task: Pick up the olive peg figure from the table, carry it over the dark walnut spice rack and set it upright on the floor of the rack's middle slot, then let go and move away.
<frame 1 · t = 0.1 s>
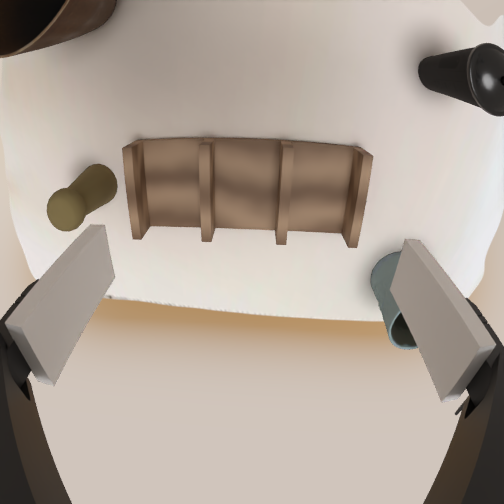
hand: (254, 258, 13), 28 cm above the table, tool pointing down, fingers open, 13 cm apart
olive peg figure: (99, 183, 40), on the table
spice rack: (246, 183, 40), on the table
grey-green tumbler: (394, 272, 47), on the table
plant pot: (93, 7, 27), on the table
drinking cup: (432, 74, 31), on the table
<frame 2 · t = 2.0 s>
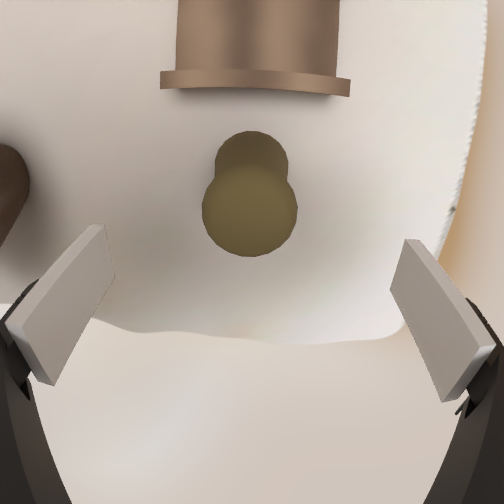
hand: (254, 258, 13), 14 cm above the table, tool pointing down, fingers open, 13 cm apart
olive peg figure: (251, 166, 25), on the table
plant pot: (7, 176, 25), on the table
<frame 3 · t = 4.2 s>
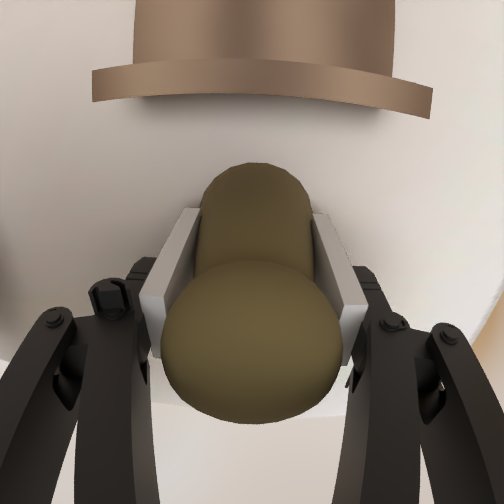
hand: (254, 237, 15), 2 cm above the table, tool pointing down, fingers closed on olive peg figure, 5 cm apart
olive peg figure: (255, 215, 17), on the table, touching gripper
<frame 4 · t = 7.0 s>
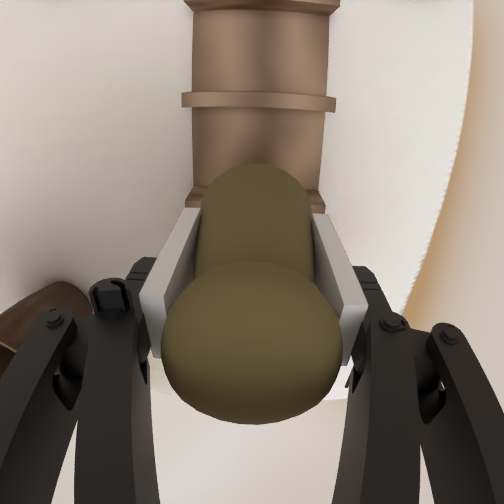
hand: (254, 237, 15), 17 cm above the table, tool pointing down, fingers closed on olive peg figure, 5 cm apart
olive peg figure: (255, 216, 17), point 14 cm above the table, touching gripper
spice rack: (257, 144, 29), on the table
plant pot: (70, 300, 40), on the table
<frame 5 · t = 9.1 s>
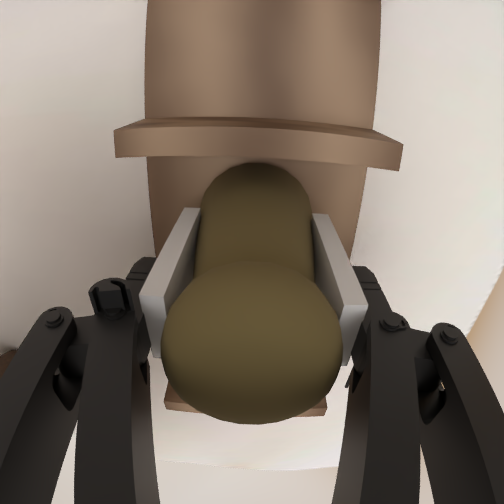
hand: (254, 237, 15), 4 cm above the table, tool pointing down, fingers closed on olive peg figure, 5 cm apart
olive peg figure: (255, 216, 17), point 2 cm above the table, touching gripper
spice rack: (254, 204, 18), on the table
when the fingers open (3 cm above the table, at t = 10.2 s): olive peg figure stays where it is, resting on spice rack.
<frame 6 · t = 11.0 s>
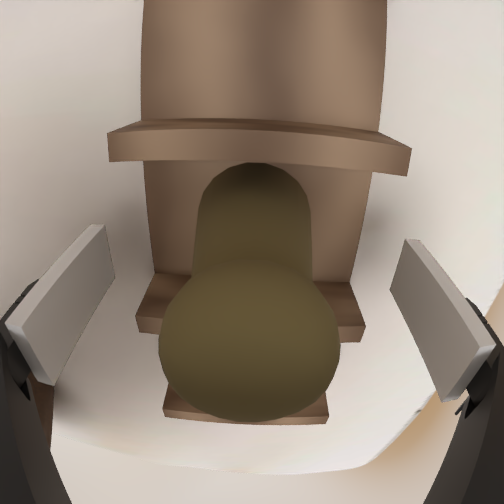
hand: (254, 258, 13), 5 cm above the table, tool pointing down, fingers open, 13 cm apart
olive peg figure: (254, 215, 17), point 1 cm above the table, touching spice rack
spice rack: (255, 209, 18), on the table
plant pot: (29, 372, 28), on the table
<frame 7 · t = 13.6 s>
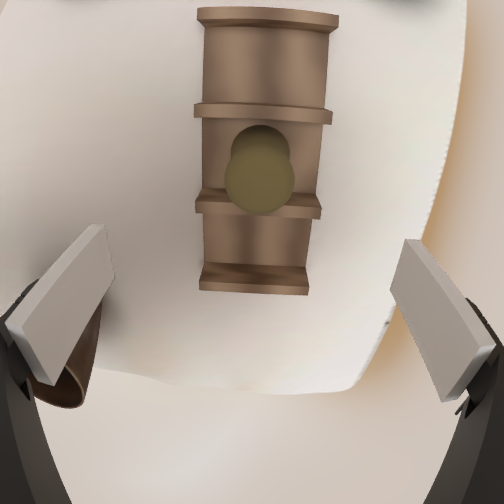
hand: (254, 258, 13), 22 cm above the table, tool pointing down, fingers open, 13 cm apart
olive peg figure: (260, 153, 31), point 1 cm above the table, touching spice rack
spice rack: (260, 151, 32), on the table
plant pot: (81, 293, 43), on the table
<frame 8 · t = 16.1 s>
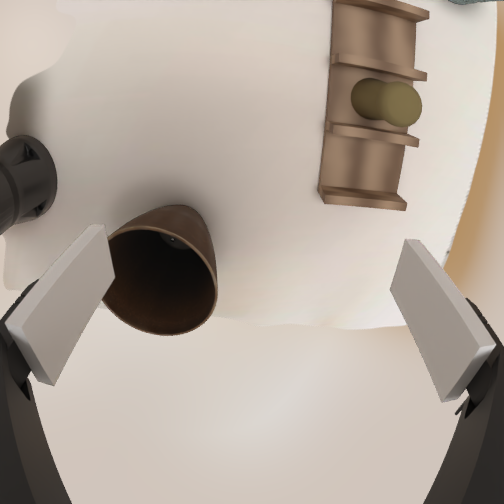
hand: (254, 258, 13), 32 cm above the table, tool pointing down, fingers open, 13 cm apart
olive peg figure: (371, 98, 36), point 1 cm above the table, touching spice rack
spice rack: (369, 98, 37), on the table
plant pot: (181, 225, 48), on the table
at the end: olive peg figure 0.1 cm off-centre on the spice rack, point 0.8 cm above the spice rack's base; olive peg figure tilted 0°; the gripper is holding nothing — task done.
